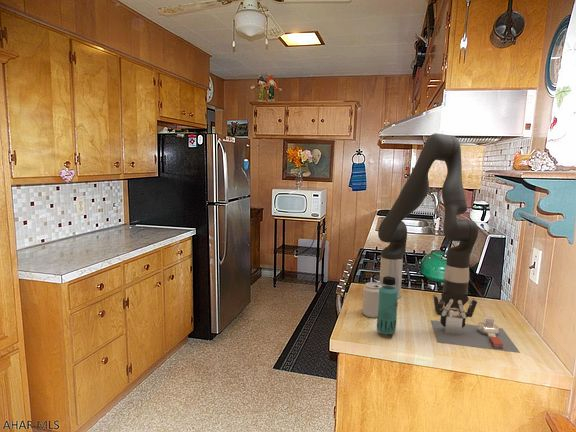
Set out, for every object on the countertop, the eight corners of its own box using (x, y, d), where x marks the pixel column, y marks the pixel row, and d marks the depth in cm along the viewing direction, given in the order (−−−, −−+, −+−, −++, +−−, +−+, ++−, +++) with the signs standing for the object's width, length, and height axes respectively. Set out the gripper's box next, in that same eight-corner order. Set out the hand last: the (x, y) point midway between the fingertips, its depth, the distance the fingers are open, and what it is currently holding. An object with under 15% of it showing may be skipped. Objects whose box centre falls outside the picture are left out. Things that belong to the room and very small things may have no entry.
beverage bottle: (376, 337, 125) (380, 279, 123) (375, 329, 132) (378, 273, 129) (397, 339, 125) (401, 281, 122) (394, 330, 131) (397, 275, 128)
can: (380, 319, 140) (382, 288, 138) (360, 316, 143) (362, 286, 141) (382, 312, 147) (384, 282, 145) (363, 309, 150) (364, 280, 148)
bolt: (438, 321, 145) (443, 307, 158) (451, 317, 142) (455, 304, 155) (431, 307, 145) (436, 294, 158) (443, 303, 143) (448, 291, 156)
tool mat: (437, 344, 122) (437, 342, 122) (430, 322, 139) (430, 320, 139) (520, 355, 116) (520, 352, 116) (502, 330, 133) (502, 328, 133)
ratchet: (486, 347, 119) (488, 331, 118) (475, 327, 134) (476, 313, 133) (509, 350, 118) (511, 334, 117) (495, 329, 132) (496, 315, 131)
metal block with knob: (445, 333, 128) (447, 311, 127) (442, 327, 133) (444, 305, 132) (461, 335, 127) (463, 312, 126) (458, 329, 132) (460, 307, 130)
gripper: (476, 277, 129) (472, 324, 131) (432, 273, 132) (428, 319, 135) (482, 284, 122) (477, 333, 124) (435, 279, 125) (431, 328, 128)
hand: (452, 326), depth 130 cm, fingers closed on metal block with knob, 5 cm apart
